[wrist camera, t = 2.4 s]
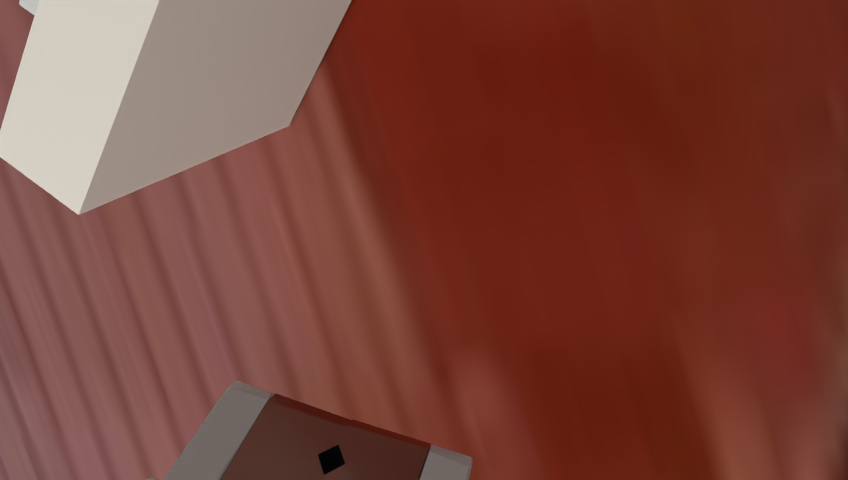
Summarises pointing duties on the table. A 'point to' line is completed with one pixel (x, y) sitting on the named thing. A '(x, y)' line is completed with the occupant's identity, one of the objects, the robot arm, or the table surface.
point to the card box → (155, 87)
